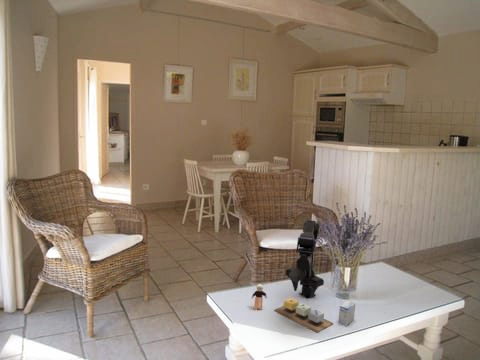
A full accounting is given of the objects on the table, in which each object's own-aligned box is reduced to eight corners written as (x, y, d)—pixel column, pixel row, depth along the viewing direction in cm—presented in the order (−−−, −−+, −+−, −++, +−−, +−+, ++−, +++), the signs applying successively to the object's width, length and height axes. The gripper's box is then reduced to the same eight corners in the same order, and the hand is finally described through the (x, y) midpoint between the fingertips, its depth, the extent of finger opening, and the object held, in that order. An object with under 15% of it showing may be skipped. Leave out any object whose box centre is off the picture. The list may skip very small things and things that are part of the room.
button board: (290, 303, 205) (290, 302, 205) (333, 324, 186) (333, 322, 186) (274, 310, 197) (274, 309, 197) (317, 333, 178) (317, 331, 178)
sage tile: (302, 309, 195) (302, 303, 194) (310, 313, 191) (310, 307, 190) (295, 312, 191) (295, 306, 191) (303, 316, 188) (304, 310, 187)
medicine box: (345, 317, 193) (346, 300, 192) (354, 320, 191) (355, 303, 189) (338, 323, 187) (339, 305, 186) (347, 326, 185) (348, 308, 183)
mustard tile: (290, 303, 200) (290, 297, 200) (298, 307, 196) (298, 301, 196) (283, 306, 197) (284, 300, 196) (291, 310, 193) (291, 304, 193)
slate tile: (314, 315, 189) (315, 308, 189) (323, 319, 186) (324, 313, 185) (308, 318, 186) (308, 312, 185) (317, 322, 182) (317, 316, 182)
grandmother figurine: (252, 311, 196) (253, 286, 194) (250, 307, 200) (251, 283, 198) (267, 309, 198) (268, 285, 196) (264, 305, 202) (266, 282, 200)
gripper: (278, 259, 186) (276, 291, 189) (309, 272, 172) (307, 306, 175) (294, 255, 193) (292, 285, 196) (325, 267, 180) (323, 299, 182)
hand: (302, 294), depth 187 cm, fingers open, 9 cm apart
